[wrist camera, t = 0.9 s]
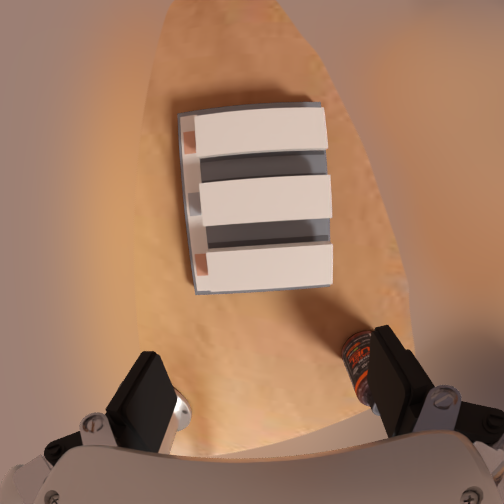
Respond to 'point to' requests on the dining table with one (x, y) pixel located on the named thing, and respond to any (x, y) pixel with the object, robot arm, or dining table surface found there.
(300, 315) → the dining table surface
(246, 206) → the middle switch
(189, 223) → the switch board
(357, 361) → the supplement bottle
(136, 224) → the dining table surface
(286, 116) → the switch
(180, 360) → the dining table surface
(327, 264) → the switch
